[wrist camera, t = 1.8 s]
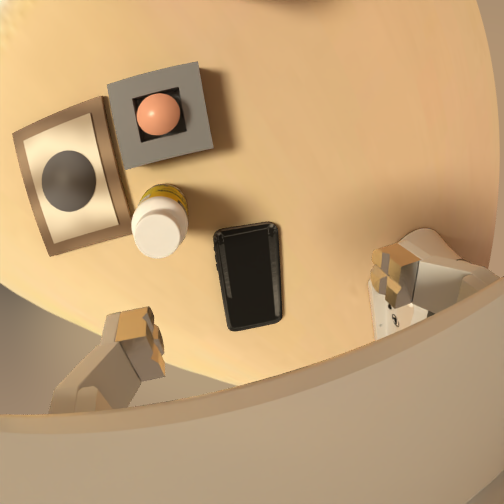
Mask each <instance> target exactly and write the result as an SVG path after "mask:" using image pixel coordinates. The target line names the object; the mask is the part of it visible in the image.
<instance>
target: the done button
mask: <svg viewBox="0 0 504 504" xmlns="http://www.w3.org/2000/svg"><path fill="white" fill-rule="evenodd" d="M179 119H180V108H179V106H178V104H177V102H176V101H175V100H174V99H173V98H172V97H171V96H169V95H167V94H162V93H158V94H153V95H150V96H148V97H147V98H145V99H144V100H143V101H142V102H141V104H140V106H139V108H138V111H137V121H138V124H139V126H140V127H141V129H142V130H143V131H145V132H146V133H148V134H151V135H163V134H165V133H168V132H169V131H171V130H172V129H173V128H174V127H175V126H176V125H177V124H178V122H179Z"/></svg>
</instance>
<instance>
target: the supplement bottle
mask: <svg viewBox="0 0 504 504" xmlns="http://www.w3.org/2000/svg"><path fill="white" fill-rule="evenodd" d="M131 228H132V233H133V236H134V239H135V243H136V245H137V247H138V249H139V250H140V251H141V252H142V253H143V254H145V255H146V256H148V257H151V258H164V257H167V256H169V255H171V254H172V253H173V252H174V251H175V250H176V249H177V248H178V246H179V245H180V244H181V243H182V241H183V240H184V238H185V236H186V234H187V230H188V206H187V201H186V198H185V196H184V194H183V193H182V192H181V191H180V190H179V189H178V188H177V187H175V186H173V185H170V184H158V185H155V186H153V187H151V188H150V189H149V190H147V191H146V193H145V194H144V195H143V197H142V199H141V200H140V202H139V204H138V206H137V208H136V210H135V212H134V214H133V217H132V222H131Z"/></svg>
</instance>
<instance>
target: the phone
mask: <svg viewBox="0 0 504 504" xmlns="http://www.w3.org/2000/svg"><path fill="white" fill-rule="evenodd" d="M213 241H214V251H215V254H216V255H215V259H216V262H217V264H216V266H217V271H218V274H219V280H220V286H221V292H222V298H223V304H224V310H225V316H226V322H227V326H228V329H229V330H231V331H241V330H246V329H251V328H256V327H261V326H265V325H270V324H275V323H277V322H279V321H280V320H281V318H282V298H281V276H280V256H279V237H278V228H277V227H276V225H275V224H274V223H272V222H261V223H255V224H248V225H242V226H236V227H229V228H223V229H219V230H218V231H216V232H215V234H214V236H213Z"/></svg>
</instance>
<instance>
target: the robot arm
mask: <svg viewBox="0 0 504 504" xmlns="http://www.w3.org/2000/svg"><path fill="white" fill-rule="evenodd" d="M372 262H373V263H374V266H373V268H372V269H371V278H370V280H369V282H368V290H369V296H370V304H371V311H372V319H373V328H374V337H375V341H374V342H371V343H369V344H366V345H364V346H361V347H359V348H356V349H353V350H351V351H348V352H346V353H343V354H340V355H337V356H335V357H332V358H329V359H326V360H323V361H321V362H318V363H315V364H312V365H309V366H306V367H303V368H299V369H296V370H293V371H290V372H287V373H283V374H280V375H277V376H273V377H270V378H266V379H263V380H259V381H256V382H252V383H248V384H244V385H240V386H236V387H233V388H228V389H224V390H220V391H216V392H211V393H207V394H202V395H198V396H193V397H188V398H182V399H177V400H172V401H166V402H161V403H155V404H149V405H142V406H135V407H128V405H129V404H130V402H131V400H132V398H133V397H134V395H135V393H136V392H137V390H138V388H139V387H140V385H141V382H142V381H147V380H152V379H156V378H161V377H165V362H164V360H163V358H162V355H163V354H164V344H163V339H162V336H161V332H160V330H159V327H158V326H156V325H155V324H154V315H153V313H152V310H151V308H150V307H149V306H148V307H143V308H137V309H132V310H127V311H122V312H117V313H113V314H109V315H107V316H106V320H105V324H104V329H103V333H102V337H101V342H100V345H98V346H96V347H94V348H93V349H92V351H91V352H90V353H89V354H88V355H87V356H86V357H85V358H84V359H83V360H82V361H81V362H80V363H79V364H78V365H77V366H76V367H75V368H74V369H73V370H72V371H71V372H70V373H69V374H68V376H66V378H65V379H64V380H63V381H62V382H61V383H60V384H59V385H58V386H57V387H56V388H55V389H54V393H53V397H52V401H51V405H50V409H49V414H37V415H11V414H0V504H504V276H503V277H502V278H500V277H498V276H497V275H495V274H494V273H492V272H491V271H490V270H488V269H487V268H485V267H483V266H479V265H475V264H472V263H470V262H468V261H466V260H464V259H462V258H461V257H460V256H459V255H458V254H457V253H455V252H454V251H453V250H452V249H451V248H450V247H449V246H448V245H447V244H446V242H445V241H444V240H443V239H442V238H441V237H440V235H439V234H438V233H437V232H436V231H434V230H432V229H429V228H422V229H418V230H415V231H413V232H411V233H409V234H408V235H406V236H405V237H404V238H403V239H401V240H400V241H399V242H397V243H394V244H392V245H388V246H385V247H382V248H379V249H376V250H373V253H372Z"/></svg>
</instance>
